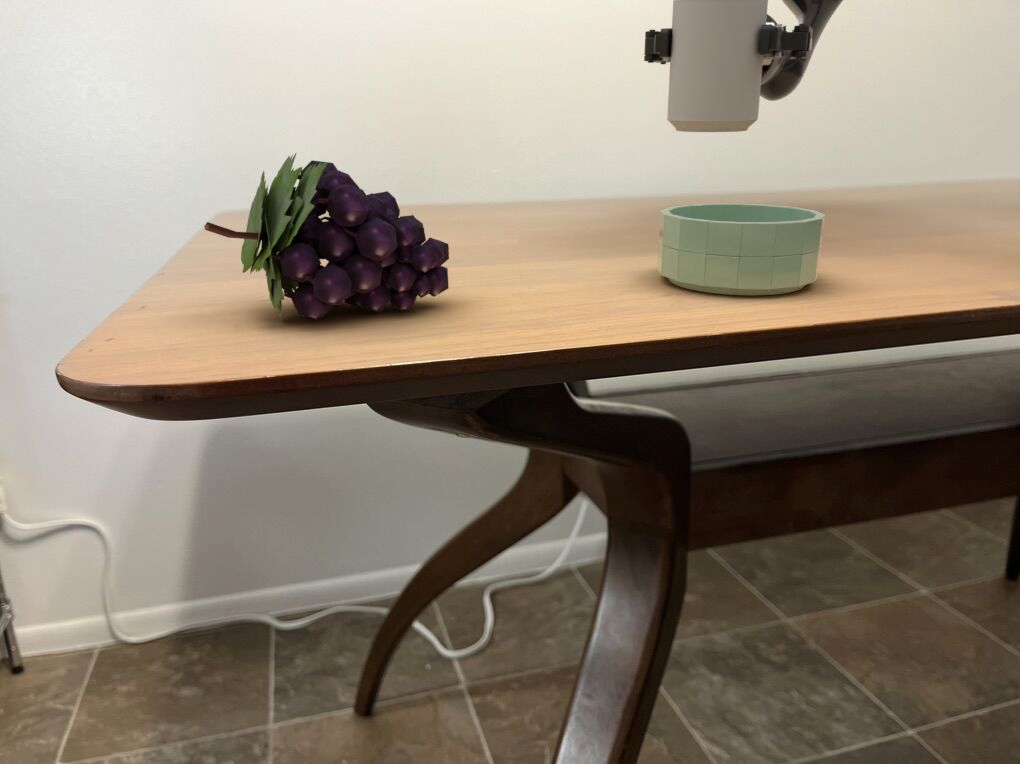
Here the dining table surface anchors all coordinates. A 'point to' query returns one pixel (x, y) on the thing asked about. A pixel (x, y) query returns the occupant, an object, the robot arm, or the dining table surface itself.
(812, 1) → the robot arm
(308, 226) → the fruit
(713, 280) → the bowl
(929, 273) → the dining table surface
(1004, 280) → the dining table surface
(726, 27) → the can
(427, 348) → the dining table surface
